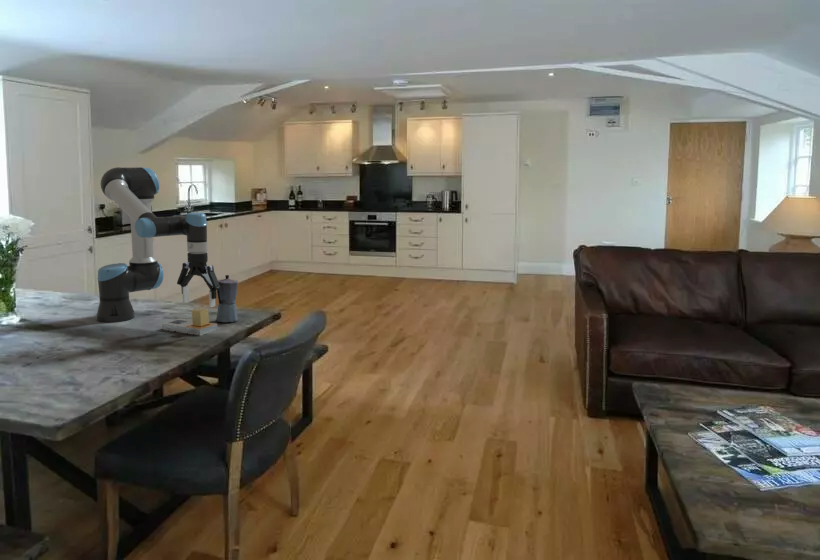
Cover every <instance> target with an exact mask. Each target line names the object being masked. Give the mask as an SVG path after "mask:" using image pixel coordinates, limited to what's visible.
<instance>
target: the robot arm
mask: <svg viewBox="0 0 820 560" xmlns="http://www.w3.org/2000/svg"><path fill="white" fill-rule="evenodd" d="M100 189H101V191H102V193H103V194H104V195H105V196H106V198H107V199H109V200H111V201H114V203H115V204H116V205H118V207H120V208H121V210H123V212H124V213H125V214H126V215H127V216H128V217H129V218H130V232H131V233H130V235H131V236H130V237H131V251H132V257H131V258H130V259H129V260H128V261H129V262H128V263H129V264H128V265H127V264H126V263H124V262H120V263H119V262H118V263H110V264H106V265H104V266H101V267H100V268H99V269H98V270H97V284H98V297H99V303H98V308H97V312H96V321H98V322H101V323H117V322H125V321H128V320H132V319H134V318H136V314H135V310H134V308H133V305H132V303H131V301H130V293H135V292H141V291H142V292H143V291H150V290H154V289H158V288H159V287H160V286H161V285H162V283H163V280H164V276H165V275H164V274H165V273H164V269H163V265H162V263H160V262H158V259H157V258H156V257H155V255H154V239H153V238H158V237H168V236H169V237H171V236H186V245H187V246H186V247H187V250H186V251H187V252H188V253H187V261H186V262H183V263H182V267H181V268H182V269H181V271H180V274H179V276H178V278H177V282H176V284H177V285H179V286H180V287H181V294H182V303H183V304H186V303H190V286H189V285H188V284H189V283H190V282H191V281H192V279H193V277H194V276H198V277H200V278H202V279H203V280H204V283H205V284H206V285H207V287H208V288H209V291H208V305H209V306H208V307H209V308H213V307H216V299H217V290H218V289H220V288H221V287H220V285H219V282H218V278H217V275H216V273H215V270H214V269H215V268H214V265H213V264H212V265H208V264H207V263H208V260H209V258H208V227H207V225H208V223H207V215H206V213H203V212H187V213H186V215H183V214H175V215H172V216H156V215H155V213H153V212H152V202H153V201H154V200H155V195H158V193H159V192H160V180H159V178H158V175H157V174H156V172H155V171H154V170H153V169H151V168H149V167H143V166H141V167H139V166H138V167H137V166H135V167H119V166H118V167H117V166H116V167H113V168H110V169H108V170H106V171H105V173H104V174H103V175H102V177H101V179H100Z"/></svg>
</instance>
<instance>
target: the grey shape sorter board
mask: <svg viewBox="0 0 820 560" xmlns="http://www.w3.org/2000/svg"><path fill="white" fill-rule="evenodd" d="M162 329H163V330H164V331H168V330H169V332H174V331H176V333H181V334H187V333H188V334H189V335H193V334H194V336H204V335H205V334H206V335H207V334H210V333H211V332H212V333H213V332H216V331H218V323H215V322H209V325H207V326H204V327H196V326H193V322H192V319H187V318H177V319H174V320H169V321H167V322H163V323H161V330H162ZM163 330H162V331H163Z"/></svg>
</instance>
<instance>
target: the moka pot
mask: <svg viewBox="0 0 820 560" xmlns="http://www.w3.org/2000/svg"><path fill="white" fill-rule="evenodd" d="M217 280H218V279H217ZM218 282H219V285H220V287H221V288H220V289H218V290H217V291H216V295H217V299H218V304H217V306H218V307H217V312H216V313H217V314H216V322H219V323H234V322H237V321H238V320H239V319H238V310H237V309H238V308H237V304H236V303H237V295H238V285H239V281H238V280H235V279H230V278H229V274H226V275H225V278H224V279H219V280H218Z"/></svg>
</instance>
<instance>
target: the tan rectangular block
mask: <svg viewBox="0 0 820 560" xmlns="http://www.w3.org/2000/svg"><path fill="white" fill-rule="evenodd" d="M209 316H210V315H209V309H208V308H201V307H200V308H199V307H198V308H196V309H192V310H191V320H192V322H193V326H196V327H204V326H207V325H209V323H210V320H209V319H210V318H209Z"/></svg>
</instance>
